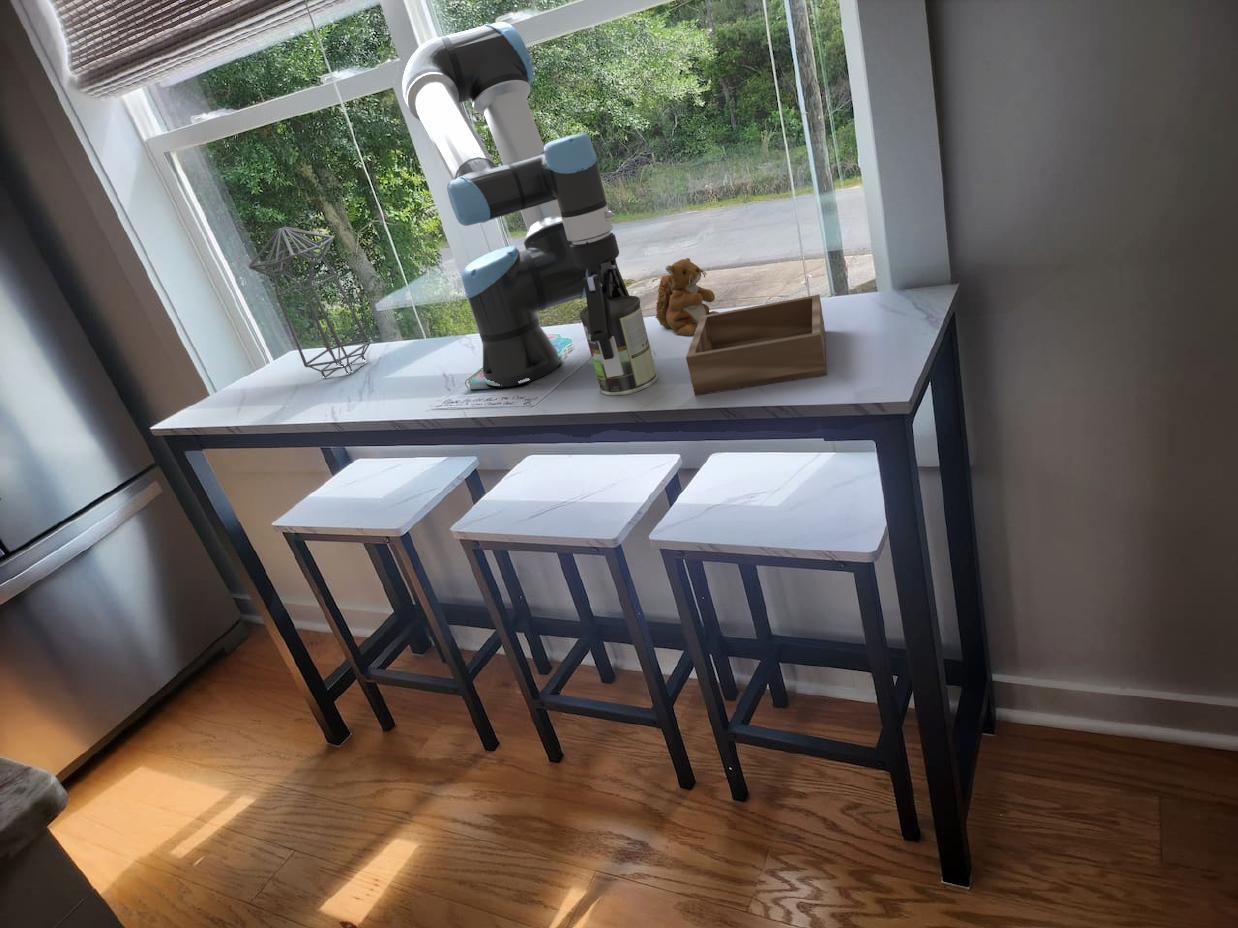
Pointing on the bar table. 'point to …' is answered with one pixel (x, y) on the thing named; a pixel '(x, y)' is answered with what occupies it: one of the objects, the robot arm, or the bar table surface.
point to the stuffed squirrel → (682, 298)
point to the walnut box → (758, 346)
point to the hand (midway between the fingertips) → (623, 360)
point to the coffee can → (624, 348)
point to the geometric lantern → (294, 235)
